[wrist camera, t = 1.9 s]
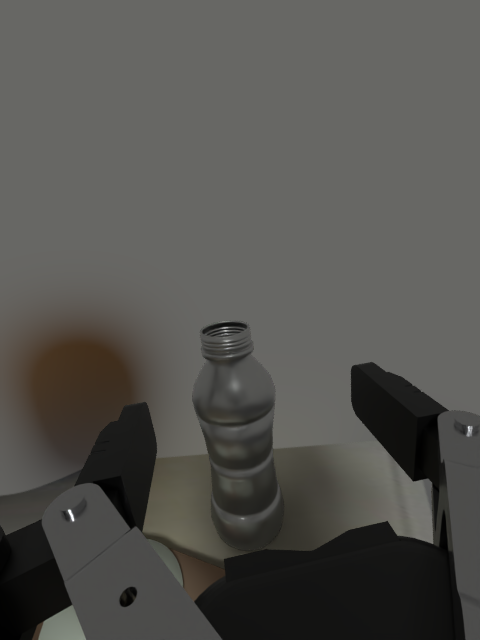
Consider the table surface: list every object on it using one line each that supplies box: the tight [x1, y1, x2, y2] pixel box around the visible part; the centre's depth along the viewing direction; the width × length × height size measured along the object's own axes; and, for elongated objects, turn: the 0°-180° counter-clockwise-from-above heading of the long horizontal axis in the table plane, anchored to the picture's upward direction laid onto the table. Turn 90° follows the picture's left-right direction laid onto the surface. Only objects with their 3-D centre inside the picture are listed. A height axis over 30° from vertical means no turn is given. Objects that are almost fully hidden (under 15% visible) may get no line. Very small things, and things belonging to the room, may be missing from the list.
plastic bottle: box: [192, 321, 284, 551], centre depth 25 cm, size 6×7×20 cm
